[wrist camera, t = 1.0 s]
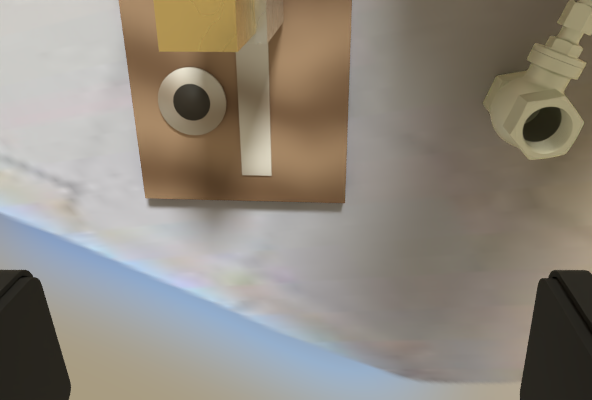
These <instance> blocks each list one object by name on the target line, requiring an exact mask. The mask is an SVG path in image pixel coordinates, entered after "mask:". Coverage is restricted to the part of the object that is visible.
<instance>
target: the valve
mask: <svg viewBox="0 0 592 400" xmlns="http://www.w3.org/2000/svg"><path fill="white" fill-rule="evenodd" d="M557 23H558V24H560V25H563V27H562V29H561V30H560V32H559V34H558V35H557V36H550V37H549V39H548V40H547V42H546V44H545V45H542V44H538V43H535V44H534V46H533V48H532V50H531V52H530V54H529V55H528V57H527V60H528V61H529V62H531V64H530V66H529V68H528V70H526V71H520V72H515V73H509V74H503V75H498V76H496V77H495V79H494V81H493V83H492V85H491V87H490V89H489V91H488V93H487V95H486V97H485V99H484V101H483V103H482V104H483V105H484V107H485V108H486V109H487V111H488V112H489V113H490V117H491V122H492V125H493V128H494V130H495V131H496V133H497V134H498V136H499V137H500V138H501V139H502V140H504V141H505V142H507V143H508V144H510V145H512V146H515V147H518V148H519V149H520V150H521V151H522V153H523V154H524V155H525V156H526V157H527V158H528V159H529V160H536V159H545V158H552V157H557V156H561V155H565V154H566V153H567V152H568V150H569V149H570V148H571V146H572V145H573V143H574V142H575V140H576V138H577V136H578V135H579V133H580V131H581V129H582V127H583V124H584V121H583V120H582V118H581V117H580V115H579V114H578V112H577V111H576V109H575V108H574V106H573V105H572V104H571V102H570V101H569V100H568V98H567V97H566V96H565V93H564V91H565V89H566V87H567V85H568V83H569V81H570V80H571V79H575V80H577V79H578V78H579V76H580V75H581V73H582V71H583V69H584V68H585V66H586V64H587V63H586V62H585V61H582V60H580V59H578V58H579V56H580V54H581V52H582V50H583V48H582V47H581V46H580V45H579V41H580V39H581V38H582V36H583V34H587V35H590V36H591V34H592V0H578V2H577V1H574V0H569V1H568V3H567V4H566V6H565V8H564V10H563V12H562V14H561V16H560V18H559V20H558V22H557Z"/></svg>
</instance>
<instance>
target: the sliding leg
mask: <svg viewBox="0 0 592 400" xmlns="http://www.w3.org/2000/svg"><path fill="white" fill-rule="evenodd" d="M153 2H154V11H155V20H156V29H157V38H158V47H159V52H238V51H239V50H240V49H241V48H242V47H243V46H244V45H245V44H268V42H269V41H270V39H271V38H272V37H273V35H274V34H275V33H276V31H277V30H278V28H279V27H280V26H281V24H282V23H283V0H153Z"/></svg>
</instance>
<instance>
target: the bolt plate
mask: <svg viewBox="0 0 592 400" xmlns="http://www.w3.org/2000/svg"><path fill="white" fill-rule="evenodd" d="M119 6H120V13H121V21H122V28H123V35H124V43H125V50H126V58H127V65H128V72H129V80H130V87H131V95H132V102H133V109H134V117H135V124H136V131H137V139H138V146H139V154H140V161H141V168H142V176H143V183H144V191H145V198H158V199H199V200H240V201H281V202H321V203H345V185H346V156H347V127H348V98H349V69H350V40H351V11H352V0H283V23H282V24H281V26H280V27H279V28H278V30H277V31H276V33H275V34H274V35H273V37H272V38H271V39H270V41H269V42H268V44H245V45H244V46H243V47H242V48H241V49H240V50H239V51H238V52H159V47H158V38H157V29H156V20H155V11H154V2H153V0H119Z"/></svg>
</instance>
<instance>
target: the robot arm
mask: <svg viewBox="0 0 592 400" xmlns="http://www.w3.org/2000/svg"><path fill="white" fill-rule="evenodd" d="M70 391H71V384H70V379H69V376H68V373H67V369H66V366H65V363H64V359H63V356H62V352H61V349H60V345H59V342H58V339H57V335H56V332H55V328H54V325H53V322H52V318H51V315H50V312H49V308H48V305H47V301H46V298H45V295H44V291H43V288H42V285H41V282H40V280H39V279H38V278H35V277H33V275H32V274H31V273H30V272H29V271H27V270H0V400H69V396H70ZM520 400H592V274H591V273H590V272H589V271H586V270H554V271H552V272H551V273H550V275H549V278H542V279H540V281H539V283H538V288H537V294H536V300H535V306H534V312H533V318H532V323H531V329H530V335H529V341H528V347H527V353H526V359H525V365H524V371H523V377H522V383H521V389H520Z"/></svg>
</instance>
